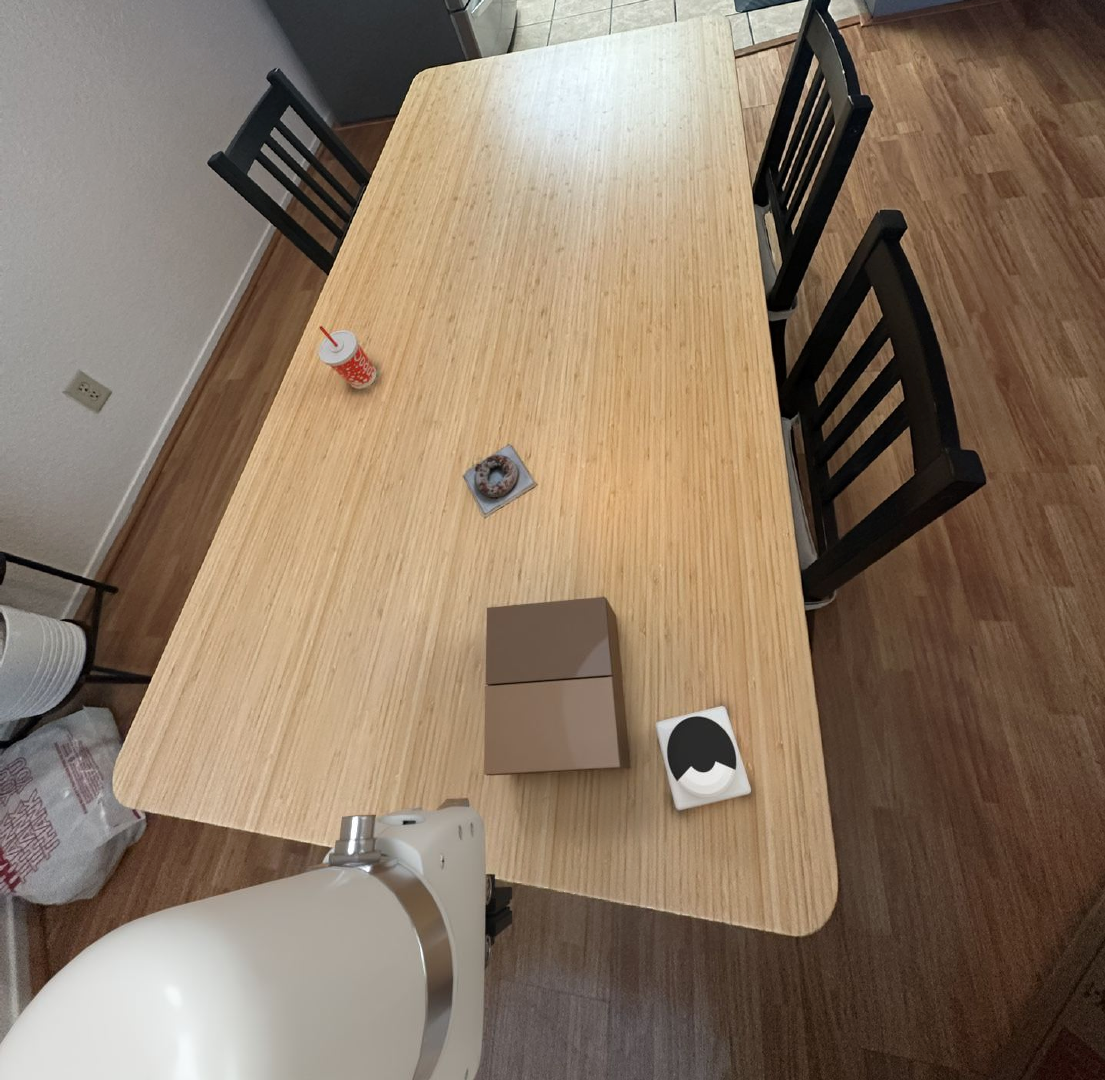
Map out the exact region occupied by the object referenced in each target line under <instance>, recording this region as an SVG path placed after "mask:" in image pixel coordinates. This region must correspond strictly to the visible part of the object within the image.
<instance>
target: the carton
mask: <svg viewBox="0 0 1105 1080" xmlns="http://www.w3.org/2000/svg"><path fill="white" fill-rule="evenodd" d="M485 637H486V638H485V639H486V641H485V645H486V646H485V686H495V685H508V684H521V683H535V682H548V681H562V680H575V679H589V678H602V677H612V680H613V691H614V702H615V713H616V725H617V736H618V747H619V758H620V767H614V768H596V769H578V770H559V771H541V772H523V773H505V774H486V775H485V776H513V775H515V776H516V775H530V774H531V775H533V774H548V773H551V774H552V773H570V772H587V771H589V772H590V771H604V770H623V769H624V770H625V769H631V767H632V766H631V757H630V746H629V745H630V744H629V735H628V725H627V714H626V702H625V694H624V683H623V673H622V662H621V661H622V660H621V652H620V651H621V650H620V641H619V630H618V619H617V615H616V613H615V611H614V609H613V607H612V605H611V604H610V602H609V600H608V598H607V597H606V596H599V597H589V598H577V599H576V598H575V599H566V600H555V601H544V602H534V603H533V602H531V603H521V604H512V605H500V606H491V607H486V635H485Z"/></svg>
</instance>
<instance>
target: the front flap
mask: <svg viewBox="0 0 1105 1080" xmlns="http://www.w3.org/2000/svg"><path fill="white" fill-rule="evenodd" d="M483 749H484V755H483V756H484V758H483V759H484V761H483V770H484V771H483V775H485V776H487V775H486V774H505V773H523V772H541V771H559V770H578V769H596V768H614V767H620V758H619V747H618V736H617V725H616V713H615V702H614V691H613V680H612V677H602V678H589V679H575V680H562V681H548V682H535V683H521V684H508V685H495V686H487V685H485V686H484V748H483Z"/></svg>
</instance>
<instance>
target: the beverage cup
mask: <svg viewBox="0 0 1105 1080" xmlns="http://www.w3.org/2000/svg"><path fill="white" fill-rule="evenodd" d="M318 329H319V330H320V331H321V332H322V333H323V334H324V335H325V338H324V339H323V340H322V342H321V343H320V344H319V347H318V357H319V360H321V362H323V363H324V364H325V365H326V366H329V367H331V368H332V369H333V371H335V372H336V373H337V374H338V375H339V376H340V377H342V378H343V380H344V381H346V382H347V383H348V384H349V385H350V386H351V387H353V388H354V389H357V390H362V389H366V388H369V386H370V385H372V384H373V383H374V382H375V380H376V378H377V370H376V367H375V366H374V365H373V363H372V361H371V360H370V359H369V357H368V356H367V354H366V352H365V351H364V349H363V348H362V347H361V345H360V343H359V340H358V338H357V337H356V334H355V333H353V332H352V331H350V330H347V329H346V330H345V329H340V330H337V331H333V332H332V333H330V334H329V332H328V331H327V330H326V328H324V327H323V325H321V326H319V328H318Z"/></svg>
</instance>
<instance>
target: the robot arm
mask: <svg viewBox="0 0 1105 1080" xmlns="http://www.w3.org/2000/svg"><path fill="white" fill-rule="evenodd" d="M340 823H341V824H340V831H339V838H338V839H336V840H335V841H334V842H335V844H334V846H332V848H331V849H330V850H329V851H328V852H327V853H326V854H325V856H324V858H323V860H322V863H319V864H315V865H311V866H307V867H306V872H303V873H300V874H295V875H292V876H288V877H284V878H279V879H276V880H271V881H268V882H264V883H260V884H256V885H252V886H249V887H245V888H240V889H236V890H232V891H229V892H225V893H222V894H218V895H214V896H210V897H207V898H206V897H205V898H202V899H199V900H195V901H191V902H187V903H183V904H180V905H175V906H172V907H168V908H164V909H162V910H159V911H155V912H153V913H150V914H147V915H145V916H142V917H139V918H136V919H133V920H131V921H129V922H127V923H124V924H123V925H120V926H119V927H116V928H115V929H113V930H110V931H109V932H108V933H107V934H105V935H103V936H102V937H100V938H99V939H97V940H96V941H94V942H93V943H91V944H90V945H88V946H87V947H86V948H84V949H83V950H81V951H80V952H79V953H78V954H77V955H76V956H75V957H74V958H72V959H71V960H70V961H69V962H68V963H67V964H65V965H64V967H62V968H61V969H60V970H59V971H57V973H56V974H54V975H53V977H51V978H50V979H49V980H48V981H47V982H46V983H45V984H44V985H43V987H42V988H41V989H40V990H39V991H38V993H37V994H36V995H35V996H34V997H33V999H31V1001H30V1002H29V1003H28V1004H27V1005H26V1007H24V1009H23V1010H22V1012H21V1013H20V1014H19V1016H18V1018H17V1019H16V1020H15V1022H14V1024H12V1026H11V1028H10V1029H9V1030H8V1032H7V1033H6V1035H5V1036H4V1038H3V1039H2V1041H1V1042H0V1080H475V1078H476V1075H477V1073H478V1071H479V1067H480V1064H481V1059H482V1058H481V1057H482V1049H483V1035H484V1034H483V1033H484V1008H485V1007H484V1006H485V1005H484V1004H485V971H486V969H487V968H488V966H489V964H490V962H491V961H490V960H491V954H492V946H493V945H494V944H495V943H496V941H495V940H496V938H495V937H497V936H499V935H500V934H501V933H502V932H503V931H505V930H506V929H507V928H508V927H509V926H511V925H512V924H513V910H511V906H508V905H510V904H511V900H513V887H512V886H496V874H495V873H486V872H487V871H486V870H487V869H486V867H487V865H486V862H487V861H486V860H487V856H486V855H487V854H486V853H487V851H486V849H487V847H486V845H487V844H486V828H485V827H486V826H485V821H484V819H483V817H482V815H481V814H480V812H479V811H478V810H477V809H476V808H475V807H472V806H471V805H470V800H469V798H468V797H458V798H457V797H456V798H446V799H445V800H444V801H443V802H442V803H441V804H440V805H439V806H438V807H437V808H435V809H433V810H432V809H430V810H429V809H426V810H425V809H423V806H418V807H409V808H403V809H399V810H395V811H392V812H389V813H386V814H382V815H380V816H377V814H356V815H345V816H341V821H340Z"/></svg>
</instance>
